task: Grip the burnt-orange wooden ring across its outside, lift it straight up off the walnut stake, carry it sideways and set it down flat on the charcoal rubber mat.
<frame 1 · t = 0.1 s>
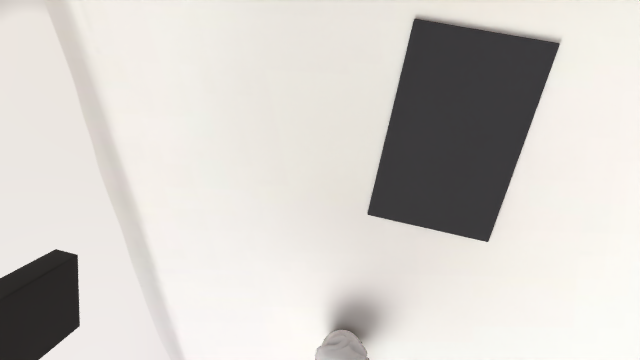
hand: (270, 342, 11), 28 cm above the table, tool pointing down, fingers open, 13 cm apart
frog figurine: (345, 338, 44), on the table
mat: (453, 137, 35), on the table
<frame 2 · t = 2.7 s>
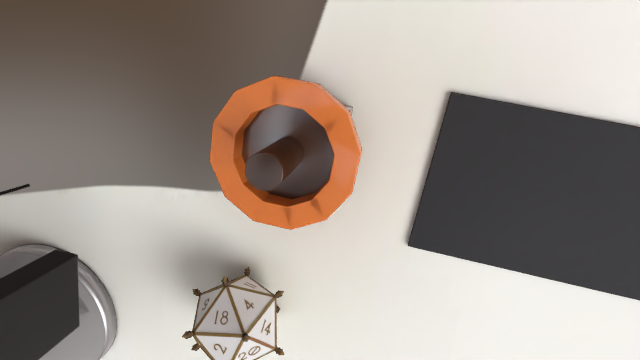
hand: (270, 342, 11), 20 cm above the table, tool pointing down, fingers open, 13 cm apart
stake: (297, 145, 29), on the table
ring: (288, 152, 27), point 3 cm above the table, touching stake
game die: (253, 293, 34), on the table
mat: (556, 200, 27), on the table
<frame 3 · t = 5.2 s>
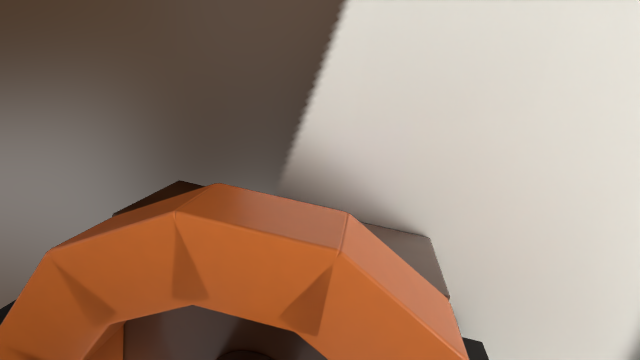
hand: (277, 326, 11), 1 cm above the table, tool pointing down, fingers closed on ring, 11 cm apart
stake: (281, 314, 12), on the table
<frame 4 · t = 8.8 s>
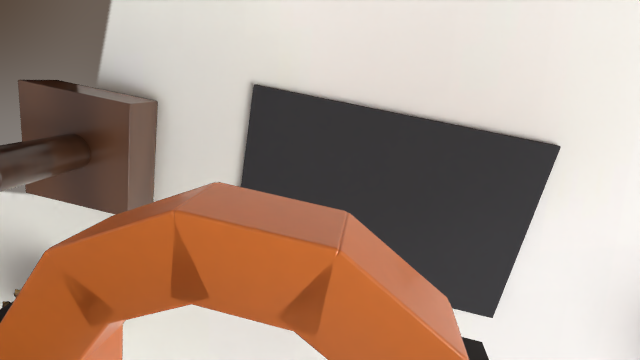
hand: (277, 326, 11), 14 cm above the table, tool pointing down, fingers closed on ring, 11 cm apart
stake: (106, 143, 27), on the table
mat: (378, 204, 25), on the table
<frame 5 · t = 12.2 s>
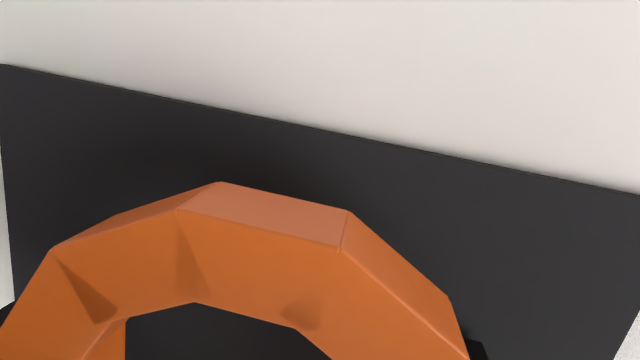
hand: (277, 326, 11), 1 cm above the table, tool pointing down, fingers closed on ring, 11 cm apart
mat: (279, 313, 12), on the table
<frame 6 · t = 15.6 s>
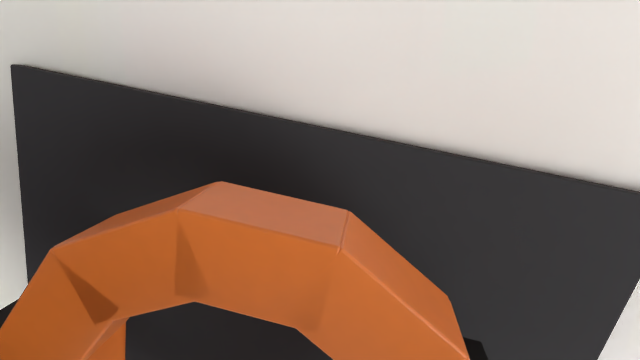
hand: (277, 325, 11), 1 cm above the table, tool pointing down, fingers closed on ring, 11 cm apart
mat: (284, 304, 12), on the table
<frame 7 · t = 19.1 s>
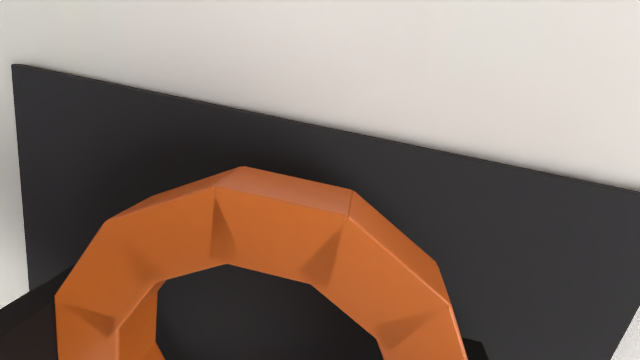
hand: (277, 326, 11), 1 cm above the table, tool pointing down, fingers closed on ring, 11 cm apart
ring: (269, 345, 11), point 2 cm above the table, touching gripper
mat: (287, 307, 12), on the table
when the fingers open (1 cm above the table, at t = 19.1 s): ring drops 1 cm, resting on mat.
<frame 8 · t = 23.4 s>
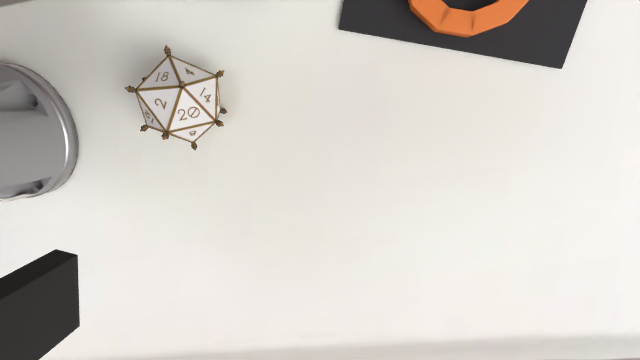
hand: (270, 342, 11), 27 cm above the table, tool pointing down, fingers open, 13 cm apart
game die: (202, 99, 37), on the table
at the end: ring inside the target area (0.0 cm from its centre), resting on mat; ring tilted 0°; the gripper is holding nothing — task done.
